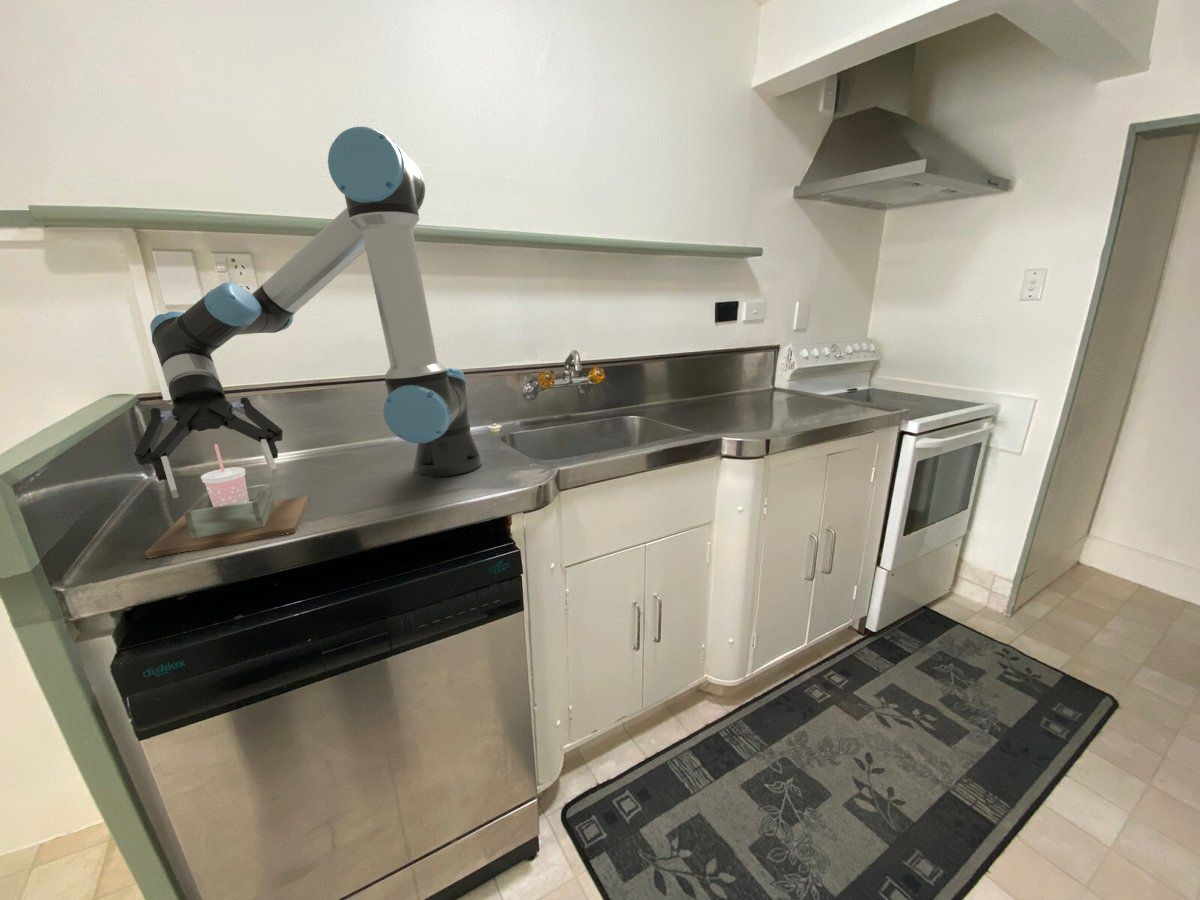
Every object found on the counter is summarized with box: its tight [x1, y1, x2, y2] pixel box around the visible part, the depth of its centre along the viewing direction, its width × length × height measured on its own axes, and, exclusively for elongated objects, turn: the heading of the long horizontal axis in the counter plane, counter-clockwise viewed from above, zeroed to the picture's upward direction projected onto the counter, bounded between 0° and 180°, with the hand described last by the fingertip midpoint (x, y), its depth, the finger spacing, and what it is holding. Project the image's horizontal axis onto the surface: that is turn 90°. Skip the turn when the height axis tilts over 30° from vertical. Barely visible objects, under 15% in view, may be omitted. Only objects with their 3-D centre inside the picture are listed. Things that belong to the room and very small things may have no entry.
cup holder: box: [144, 483, 309, 558], centre depth 85 cm, size 20×16×6 cm
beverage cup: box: [200, 443, 249, 507], centre depth 84 cm, size 6×6×14 cm
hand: (227, 483), depth 82 cm, fingers open, 13 cm apart
